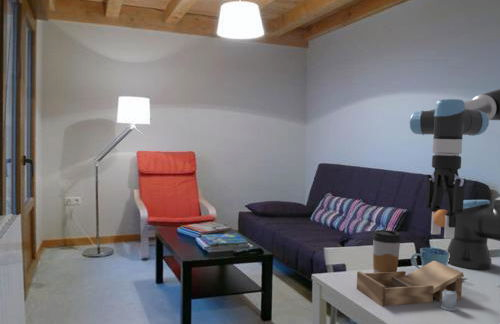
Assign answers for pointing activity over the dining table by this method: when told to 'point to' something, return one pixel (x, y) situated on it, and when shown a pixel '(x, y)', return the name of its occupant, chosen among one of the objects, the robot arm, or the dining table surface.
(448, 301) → the tee
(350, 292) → the dining table surface
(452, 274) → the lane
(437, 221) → the ball
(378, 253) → the coffee cup
